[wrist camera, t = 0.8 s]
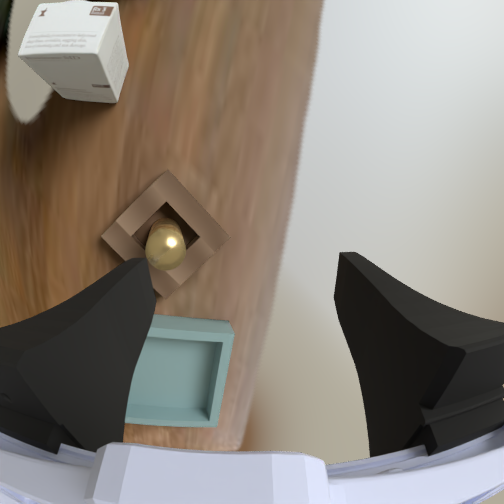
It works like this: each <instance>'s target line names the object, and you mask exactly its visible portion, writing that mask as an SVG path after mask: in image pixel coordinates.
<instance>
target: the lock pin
mask: <svg viewBox="0 0 504 504" xmlns="http://www.w3.org/2000/svg"><path fill="white" fill-rule="evenodd" d="M145 252H146V257H147V259H148V261H149V263H150V264H151V265H152V266H153V267H155V268H157V269H159V270H164V271H167V270H172V269H175V268H176V267H178V266H179V265H180V264H181V263H182V262H183V260H184V258H185V255H186V246H185V243H184V239H183V236H182V233H181V229H180V227H179V225H178V224H177V222H175V221H174V220H172V219H170V218H161V219H159V220H157V221H156V222H155V223H154V224H153V225H152V227H151V229H150V233H149V236H148V240H147V244H146V249H145Z"/></svg>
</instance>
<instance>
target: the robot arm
mask: <svg viewBox="0 0 504 504" xmlns="http://www.w3.org/2000/svg"><path fill="white" fill-rule="evenodd" d="M334 301H335V306H336V310H337V314H338V319H339V322H340V325H341V327H342V330H343V333H344V336H345V338H346V341H347V344H348V347H349V349H350V352H351V355H352V358H353V360H354V363H355V366H356V370H357V373H358V377H359V382H360V387H361V391H362V396H363V403H364V409H365V415H366V422H367V430H368V438H369V450H370V458H366V459H360V460H355V461H349V462H343V463H336V464H329V465H325V463H324V461H323V460H321V459H319V458H317V457H314V456H310V455H307V454H304V453H301V452H282V451H252V452H251V451H250V452H234V451H204V450H189V449H177V448H167V447H158V446H150V445H143V444H137V443H123V434H124V425H125V416H126V410H127V403H128V397H129V392H130V387H131V382H132V378H133V374H134V371H135V367H136V365H137V362H138V359H139V356H140V354H141V351H142V348H143V345H144V343H145V340H146V337H147V335H148V332H149V329H150V326H151V323H152V320H153V315H154V311H155V306H156V298H155V293H154V289H153V285H152V281H151V276H150V272H149V267H148V262H147V258H131V259H129V260H127V261H125V262H124V263H122V264H121V265H119V266H118V267H116V268H115V269H113V270H112V271H110V272H109V273H108V274H106V275H105V276H103V277H102V278H100V279H99V280H98V281H96V282H95V283H93V284H92V285H90V286H89V287H87V288H85V289H84V290H82V291H81V292H79V293H78V294H76V295H75V296H73V297H71V298H70V299H68V300H66V301H64V302H63V303H61V304H59V305H57V306H55V307H53V308H51V309H49V310H47V311H44V312H42V313H40V314H38V315H36V316H33V317H31V318H28V319H26V320H23V321H21V322H18V323H15V324H12V325H8V326H5V327H1V328H0V504H479V503H481V502H483V501H485V500H486V499H488V498H490V497H492V496H493V495H495V494H497V493H498V492H500V491H502V490H504V401H503V399H502V398H504V388H503V386H502V385H503V384H504V323H503V322H498V321H493V320H489V319H484V318H480V317H477V316H474V315H470V314H467V313H464V312H461V311H459V310H456V309H453V308H451V307H448V306H446V305H443V304H441V303H439V302H437V301H434V300H432V299H430V298H428V297H426V296H424V295H422V294H420V293H419V292H417V291H415V290H413V289H411V288H410V287H408V286H407V285H405V284H403V283H402V282H400V281H398V280H397V279H395V278H394V277H392V276H391V275H389V274H388V273H386V272H385V271H383V270H382V269H381V268H379V267H378V266H376V265H375V264H373V263H372V262H370V261H369V260H367V259H366V258H364V257H363V256H361V255H360V254H358V253H356V252H340V253H339V262H338V271H337V278H336V285H335V292H334Z"/></svg>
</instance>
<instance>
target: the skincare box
mask: <svg viewBox="0 0 504 504" xmlns="http://www.w3.org/2000/svg"><path fill="white" fill-rule="evenodd" d="M18 57H20V58H21V59H22V60H23V61H24V62H25V63H26V64H27V65H28V66H29V67H31V68H32V69H33V70H34V71H35V72H36V73H37V74H38V75H39V76H40V77H41V78H42V79H43V80H45V81H46V82H47V83H48V84H49V85H50V86H51V87H52V88H53V89H54V90H55V91H56V92H58V93H59V94H60V95H61V96H62V97H63V98H66V99H72V100H80V101H91V102H104V103H117V102H118V99H119V95H120V92H121V88H122V85H123V82H124V78H125V75H126V72H127V69H128V67H129V64H128V60H127V55H126V49H125V44H124V39H123V34H122V28H121V22H120V16H119V9H118V3H112V2H88V1H82V0H80V1H79V0H74V1H66V2H62V3H46V4H39V6H38V8H37V10H36V12H35V14H34V16H33V18H32V20H31V23H30V25H29V27H28V29H27V32H26V34H25V37H24V39H23V42H22V44H21V47H20V50H19V53H18Z"/></svg>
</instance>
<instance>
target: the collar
mask: <svg viewBox="0 0 504 504" xmlns="http://www.w3.org/2000/svg"><path fill="white" fill-rule="evenodd" d="M166 201H167V202H168V203H169V204H170V206H171V207H172V208H173V209H174V210H175V211H176V212H177V213H178V214H179V215H180V216H181V217H182V218H183V219H184V220H185V221H186V223H187V224H188V225H189V226H190V227H191V228H192V229H193V230H194V231H195V232H196V233H197V234H198V235H197V236H196V237H195V238H194V239H193V240H192V241H191V242H190V243H189V244H188V245H187V246H186V255H185V258H184V260H183V262H182V263H181V264H180V265H179V266H178V267H176V268H175V269H172V270H167V271H164V270H159V269H157V268H155V267H153V266H152V265H151V264H150V263H149V261H148V259H147V262H148V267H149V272H150V276H151V281H152V285H153V288H154V289H155V290H156V291H157V292H158V293H159V294H160V295H161V296H163V297H164V298H165V299H167V298H168V297H169V296H170V295H171V294H172V293H173V292H174V291H175V290H176V289H177V288H178V287H179V286H180V285H181V284H182V283H183V282H184V281H185V280H186V279H187V278H189V277H190V276H191V275H192V274H193V273H194V272H195V271H196V270H197V269H198V268H199V267H200V266H201V265H202V264H203V263H204V262H205V261H206V260H207V259H209V258H210V257H211V256H212V255H213V254H214V253H215V252H216V251H217V250H218V249H219V248H220V247H221V246H222V245H223V244H224V243H225V242H227V241H228V240H229V239H230V238H231V237H230V236H229V235H228V234H227V233H226V232H225V231H224V230H223V229H222V227H221V226H220V225H219V224H218V223H217V222H216V221H215V220H214V219H213V218H212V217H211V216H210V214H209V213H208V212H207V211H206V210H205V209H204V208H203V207H202V206H201V205H200V204H199V202H198V201H197V200H196V199H195V198H194V197H193V196H192V195H191V194H190V193H189V192H188V190H187V189H186V188H185V187H184V186H183V185H182V184H181V183H180V182H179V181H178V180H177V178H176V177H175V176H174V175H173V174H172V173H171V172H170V171H169V170H167V171H166V172H165V173H163V174H162V175H161V176H160V177H159V178H158V179H157V180H156V181H155V182H154V183H153V184H152V185H151V186H150V187H149V188H148V189H147V190H146V191H145V192H143V193H142V194H141V195H140V196H139V197H138V198H137V199H136V200H135V201H134V202H133V203H132V204H131V205H130V206H129V207H128V208H127V209H126V210H125V211H124V213H123V214H122V215H121V216H120V217H119V218H118V219H117V220H116V221H115V222H114V223H113V224H112V225H111V226H110V227H109V228H108V229H107V230H106V231H105V233H104V234H103V235H102V236H101V237H102V238H103V239H104V240H105V241H106V242H107V243H108V244H109V245H110V246H111V247H112V248H113V249H114V250H115V251H116V252H117V253H118V254H119V255H120V256H121V257H122V258H123V259H124V260H125V261H127V260H129V259H131V258H147V257H146V252H145V249H146V247H145V246H144V245H143V244H142V243H141V242H140V241H139V240H138V239H137V238H136V237H135V236H134V235H133V234H134V233H135V232H136V231H137V230H138V229H139V228H140V227H141V226H142V225H143V224H144V223H145V222H146V221H147V220H148V219H149V218H150V217H151V216H152V215H153V214H154V213H155V212H156V211H157V210H158V209H159V208H160V207H161V206H162V205H163V204H164V203H165V202H166Z"/></svg>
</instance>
